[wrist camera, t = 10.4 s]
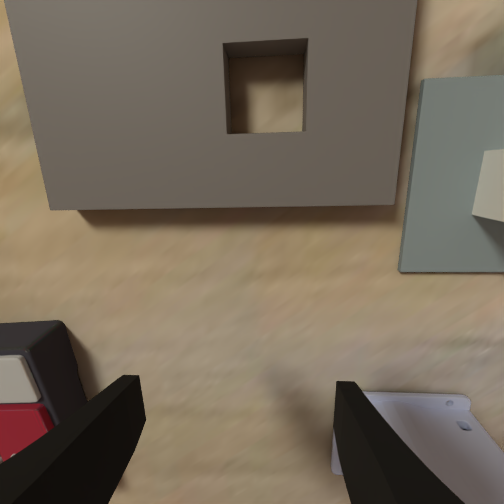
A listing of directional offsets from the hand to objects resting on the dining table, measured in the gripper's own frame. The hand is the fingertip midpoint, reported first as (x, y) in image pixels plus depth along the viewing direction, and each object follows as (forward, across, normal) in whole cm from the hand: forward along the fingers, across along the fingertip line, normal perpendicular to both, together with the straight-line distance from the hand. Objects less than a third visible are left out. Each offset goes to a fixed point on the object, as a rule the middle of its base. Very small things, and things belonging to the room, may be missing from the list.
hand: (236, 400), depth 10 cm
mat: (+10, -15, -7) cm, 19 cm away
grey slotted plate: (+10, +2, -12) cm, 16 cm away
